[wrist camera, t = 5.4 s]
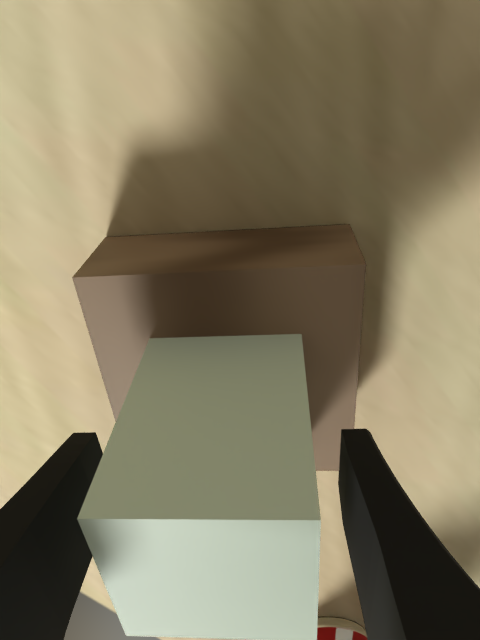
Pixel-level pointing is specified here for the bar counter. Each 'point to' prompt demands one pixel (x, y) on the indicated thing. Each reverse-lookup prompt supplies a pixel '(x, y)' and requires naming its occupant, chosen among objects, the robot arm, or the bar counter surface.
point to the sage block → (211, 493)
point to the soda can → (339, 629)
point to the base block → (234, 306)
